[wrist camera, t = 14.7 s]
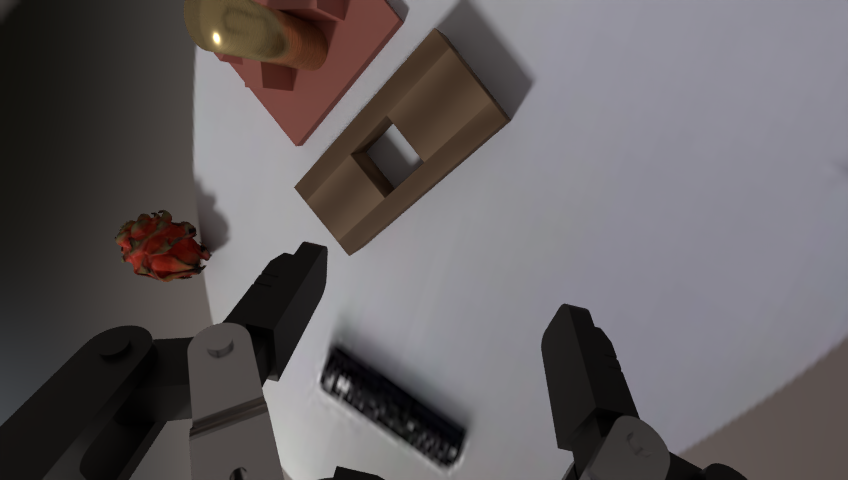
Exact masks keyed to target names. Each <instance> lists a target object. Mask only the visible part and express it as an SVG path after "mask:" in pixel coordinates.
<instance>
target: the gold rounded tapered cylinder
mask: <svg viewBox="0 0 848 480" xmlns="http://www.w3.org/2000/svg"><path fill="white" fill-rule="evenodd" d="M184 19H185V24H186V27H187V30H188V32H189V34H190V36H191V38H192V39H193V41H194V42H195V43H196V44H197V45H198V46H199V47H200V48H202V49H204V50H206V51H211V52H216V53H221V54H226V55H231V56H236V57H241V58H246V59H251V60H256V61H261V62H266V63H271V64H276V65H281V66H286V67H291V68H296V69H301V70H306V71H315V70H318V69H319V68H320V67H322V65H323V64H324V62H325V61H326V58H327V54H328V43H327V39H326V37H325V34H324V33H323V31H322V30H321V29H320V28H319V27H318V26H316V25H314V24H312V23H309V22H307V21H304V20H301V19H299V18H296V17H294V16H291V15H289V14H286V13H284V12H281V11H279V10H276V9H274V8H271V7H268V6H266V5H263V4H261V3H258V2H256V1H253V0H185V3H184Z"/></svg>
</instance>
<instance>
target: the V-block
mask: <svg viewBox="0 0 848 480" xmlns="http://www.w3.org/2000/svg"><path fill="white" fill-rule="evenodd" d="M253 1H256V2H258V3H261V4H263V5H266V6H268V7H271V8H274V9H276V10H279V11H281V12H284V13H286V14H289V15H291V16H294V17H296V18H299V19H301V20H304V21H307V22H309V23H312V24H314V25H316V26H318V27H319V28H320V29H321V30H322V31H323V33H324V34H325V37H326V39H327V43H328V54H327V58H326V61H325V62H324V64H323V65H322V67H320V68H319V69H318V70H315V71H306V70H301V69H296V68H291V67H286V66H281V65H276V64H271V63H266V62H261V61H256V60H251V59H246V58H241V57H236V56H231V55H226V54H221V53H216V52H214V54H215V55H216V56H217V57H218V59H219V60H220V61H224V62H229V63H230V64H231V66H232V67H233V68H234V69H235V71H236V72H237V73H238V74H239V76H240V77H241V78H242V79H243V81H244V82H245V87H249V88H250V89H251V91H252V92H253V93H254V94H255V96H256V97H257V98H258V99H259V101H260V102H261V103H262V104H263V106H264V107H265V108H266V109H267V111H268V112H269V113H270V114H271V116H272V117H273V118H274V119H275V121H276V122H277V123H278V124H279V126H280V127H281V128H282V129H283V131H284V132H285V133H286V134H287V136H288V137H289V138H290V139H291V141H292V142H293V143H294V144H295V146H302V145H303V144H304V143H305V142H306V140H307V139H308V138H309V137H310V136H311V134H312V133H313V132H314V131H315V130H316V128H317V127H318V126H319V125H320V124H321V122H322V121H323V120H324V119H325V117H326V116H327V115H328V114H329V113H330V111H331V110H332V109H333V108H334V107H335V105H336V104H337V103H338V102H339V101H340V99H341V98H342V97H343V96H344V95H345V93H346V92H347V91H348V90H349V88H350V87H351V86H352V85H353V84H354V82H355V81H356V80H357V79H358V78H359V76H360V75H361V74H362V73H363V72H364V70H365V69H366V68H367V67H368V66H369V64H370V63H371V62H372V61H373V59H374V58H375V57H376V56H377V55H378V53H379V52H380V51H381V50H382V49H383V47H384V46H385V45H386V44H387V43H388V41H389V40H390V39H391V38H392V37H393V35H394V34H395V33H396V32H397V30H398V29H399V28H400V27H401V26H402V24H403V23H404V22H403V21H402V20H401V19H400V17H399V16H398V15H397V13H396V12H395V11H394V10H393V8H392V7H391V6H390V5H389V3H388V2H387V1H386V0H253Z"/></svg>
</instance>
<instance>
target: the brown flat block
mask: <svg viewBox="0 0 848 480" xmlns="http://www.w3.org/2000/svg"><path fill="white" fill-rule="evenodd" d="M510 121H511V119H510V118H509V117H508V116H507V114H506V113H505V112H504V110H503V109H502V108H501V107H500V105H499V104H498V103H497V101H496V100H495V99H494V98H493V96H492V95H491V94H490V92H489V91H488V90H487V89H486V87H485V86H484V85H483V84H482V82H481V81H480V80H479V78H478V77H477V76H476V75H475V73H474V72H473V71H472V69H471V68H470V67H469V66H468V64H467V63H466V62H465V60H464V59H463V58H462V57H461V55H460V54H459V53H458V51H457V50H456V49H455V48H454V46H453V45H452V44H451V42H450V41H449V40H448V39H447V37H446V36H445V35H443V34H442V33H441V32H439V31H438V30H437V29H435V28H434V29H433V30H432V31H431V33H430V34H429V35H428V36H427V37H426V38H425V39H424V41H423V42H422V43H421V44H420V45H419V46H418V47H417V48H416V50H415V51H414V52H413V53H412V54H411V55H410V56H409V58H408V59H407V60H406V61H405V62H404V63H403V64H402V65H401V67H400V68H399V69H398V70H397V71H396V72H395V73H394V75H393V76H392V77H391V78H390V79H389V80H388V81H387V82H386V84H385V85H384V86H383V87H382V88H381V89H380V90H379V92H378V93H377V94H376V95H375V96H374V97H373V98H372V99H371V101H370V102H369V103H368V104H367V105H366V106H365V107H364V109H363V110H362V111H361V112H360V113H359V114H358V115H357V116H356V118H355V119H354V120H353V121H352V122H351V123H350V124H349V126H348V127H347V128H346V129H345V130H344V131H343V132H342V133H341V135H340V136H339V137H338V138H337V139H336V140H335V141H334V143H333V144H332V145H331V146H330V147H329V148H328V149H327V151H326V152H325V153H324V154H323V155H322V156H321V157H320V158H319V160H318V161H317V162H316V163H315V164H314V165H313V166H312V168H311V169H310V170H309V171H308V172H307V173H306V174H305V175H304V177H303V178H302V179H301V180H300V181H299V182H298V183H297V185H296V186H295V187H294V188H295V189H296V190H297V192H298V193H299V194H300V195H301V197H302V198H303V199H304V200H305V202H306V203H307V204H308V205H309V207H310V208H311V209H312V210H313V212H314V213H315V214H316V215H317V217H318V218H319V219H320V220H321V222H322V223H323V224H324V225H325V227H326V228H327V229H328V230H329V232H330V233H331V234H332V235H333V237H334V238H335V239H336V240H337V242H338V243H339V244H340V245H341V247H342V248H343V249H344V250H345V252H346V253H347V254H348V255H349V256H350V255H352V254H353V253H355V252H356V251H358V250H360V249H361V248H363V247H364V246H365V245H366V244H368V243H369V242H370V241H371V240H372V239H373V238H375V237H376V236H377V235H378V234H379V233H380V232H382V231H383V230H384V229H385V228H386V227H387V226H389V225H390V224H391V223H392V222H393V221H394V220H396V219H397V218H398V217H399V216H400V215H401V214H403V213H404V212H405V211H406V210H407V209H408V208H410V207H411V206H412V205H413V204H414V203H415V202H417V201H418V200H419V199H420V198H421V197H422V196H424V195H425V194H426V193H427V192H428V191H429V190H431V189H432V188H433V187H434V186H435V185H436V184H438V183H439V182H440V181H441V180H442V179H443V178H445V177H446V176H447V175H448V174H449V173H450V172H452V171H453V170H454V169H455V168H456V167H457V166H459V165H460V164H461V163H462V162H463V161H464V160H466V159H467V158H468V157H469V156H470V155H471V154H473V153H474V152H475V151H476V150H477V149H478V148H480V147H481V146H482V145H483V144H484V143H485V142H487V141H488V140H489V139H490V138H491V137H492V136H494V135H495V134H496V133H497V132H498V131H499V130H501V129H502V128H503V127H504V126H505V125H506V124H508V123H509V122H510ZM392 124H394V125H395V126H396V127H397V129H398V130H399V131H400V133H401V134H402V135H403V136H404V138H405V139H406V140H407V141H408V143H409V144H410V145H411V146H412V148H413V149H414V150H415V152H416V153H417V154H418V155H419V157H420V158H421V159H422V160H423V162H424V163H423V164H422V165H421V166H420V167H419V168H418V169H416V170H415V171H414V172H413V173H412V174H411V175H410V176H409V177H408V178H407V179H406V180H404V181H403V182H402V183H401V184H400V185H399V186H398V187H397V188H396V189H394V187H393V186H392V185H391V184H390V182H389V181H388V180H387V179H386V177H385V176H384V175H383V173H382V172H381V171H380V170H379V168H378V167H377V166H376V165H375V163H374V162H373V161H372V160H371V158H370V157H369V156H368V155H367V153H366V151H367V150H368V149H369V148H370V147H371V146H372V145H373V144H374V143H375V142H376V141H377V140H378V139H379V138H380V137H381V136H382V135H383V133H384V132H385V131H386V130H387V129H388V128H389V127H390V126H391V125H392Z"/></svg>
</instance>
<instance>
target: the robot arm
mask: <svg viewBox="0 0 848 480" xmlns="http://www.w3.org/2000/svg"><path fill="white" fill-rule="evenodd" d="M327 255H328V249H327V247H326V246H322V245H318V244H314V243H309V242H303V243H302V244H301V245H300V247H299V248H298V250H297V251H296V252H295V254H294V255H292V254H288V253H283V254H281V255H280V256H278V257H276V258H275V259H273V260H271V261H270V262H269V264H268V265H267V266H266V267H265V269H264V270H263V271H262V273H261V275H259V276H258V278H257V279H256V280H255V282H254V284H252V285H251V287H250V288H249V289H248V291H247V292H246V293H245V295H244V296H243V297H242V298H241V300H240V301H239V302H238V304H237V305H236V306H235V307H234V309H233V310H232V311H231V313H230V314H229V315H228V316H227V318H226V319H225V320H224V321H223V322H222V323H220V324H216V325H212V326H210V327H207V328H206V329H204V330H202V331H201V332H199V333H198V334H197V335H196V336H195V337H190V338H175V339H155V340H153V339H152V336H151V334H150V333H149V331H147V330H146V329H144V328H142V327H138V326H120V327H116V328H112V329H109V330H106V331H104V332H102V333H100V334H98V335H96V336H95V337H93V338H92V339H90V340H89V341H88V342H87V343H86V344H85V345H84V346H83V347H81V348H80V349H79V350H78V351H77V352H76V353H75V354H74V355H73V356H72V357H71V358H70V359H69V360H68V361H67V362H66V363H65V364H64V365H63V366H62V367H61V368H60V369H59V370H58V371H57V372H56V373H55V374H54V375H53V376H52V377H51V378H50V379H49V380H48V381H47V382H46V383H45V384H44V385H42V386H41V388H39V389H38V390H37V392H35V393H34V394H33V395H32V396H31V397H30V398H29V399H28V400H27V401H26V402H25V403H24V404H23V405H22V406H21V407H20V408H19V409H18V410H17V411H16V412H15V413H14V414H13V415H12V416H11V417H10V418H9V419H8V420H7V421H6V422H5V423H4V424H3V425H2V426H0V480H129V479H130V477H131V475H132V474H133V473H134V471H135V470H136V468H137V466H138V465H139V463H140V462H141V460H142V459H143V457H144V456H145V454H146V453H147V451H148V450H149V448H150V447H151V445H152V444H153V442H154V441H155V439H156V437H157V436H158V434H159V433H160V431H161V430H162V428H163V427H164V425H165V424H166V422H167V421H173V420H182V419H191V418H192V421H193V425H192V428H191V429H190V433H189V444H190V459H191V473H192V474H191V475H192V480H284V477H283V473H282V468H281V464H280V459H279V455H278V451H277V446H276V442H275V437H274V433H273V429H272V424H271V420H270V415H269V411H268V407H267V403H266V401H265V399H264V395H263V390H262V387H263V385H264V383H265V381H266V380H267V379H269V380H273V381H277V382H278V381H279V379H280V377H281V375H282V373H283V371H284V369H285V367H286V365H287V364H288V362H289V360H290V358H291V356H292V354H293V352H294V350H295V348H296V346H297V344H298V342H299V340H300V338H301V336H302V335H303V333H304V331H305V329H306V327H307V325H308V323H309V321H310V319H311V317H312V315H313V313H314V311H315V309H316V307H317V305H318V304H319V302H320V300H321V298H322V295H323V293H324V290H325V286H326V278H327ZM541 350H542V357H543V362H544V368H545V374H546V380H547V386H548V392H549V398H550V404H551V410H552V416H553V422H554V427H555V433H556V439H557V445H558V448H559V449H564V450H568V451H572V452H573V457H574V461H573V462H572V463H571V465H570V466H569V468H568V469H567V471H566V473H565V474H564V476H563V478H562V480H747V479H746V478H745V477H744V476H742V474H740V473H739V472H737V471H736V470H734V469H733V468H731V467H729V466H726V465H723V464H719V463H718V464H717V463H715V464H711V465H709V466H708V467H706V468H704V469H703V470H702V469H700V468H699V467H697V466H695V465H693V464H691V463H689V462H687V461H686V460H684V459H682V458H680V457H678V456H676V455H675V454H673V453H671V452H669V451H668V449H667V446H666V445H665V443H664V441H663V440H662V438H661V437H660V436H659V434H658V433H657V432H656V431H655V430H654V429H653V428H652V427H651V426H649V425H648V424H647V423H645V422H644V421H642V420H640V418H639V415H638V412H637V410H636V407H635V404H634V402H633V399H632V396H631V394H630V391H629V388H628V386H627V383H626V380H625V377H624V375H623V372H621V367H620V364H619V361H618V360H617V359H616V358H617V356H616V353H615V351H614V348H613V345H612V342H611V341H610V340H609V339H608V337H607V336H606V335H605V333H604V332H603V331H602V329H601V328H598V327H595V326H594V323H593V320H592V317H591V314H590V312H589V310H588V309H585V308H581V307H577V306H573V305H568V304H562V305H561V306H560V308H559V309H558V311H557V313H556V314H555V316H554V317H553V319H552V321H551V322H550V324H549V326H548V327H547V329H546V330H545V332H544V335H543V338H542V343H541ZM319 480H384V479H383V478H381V477H379V476H377V475H373V474H369V473H365V472H360V471H356V470H352V469H347V468H343V467H339V466H337V467H336V470H335V473H334V477H333V478H324V479H319Z"/></svg>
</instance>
